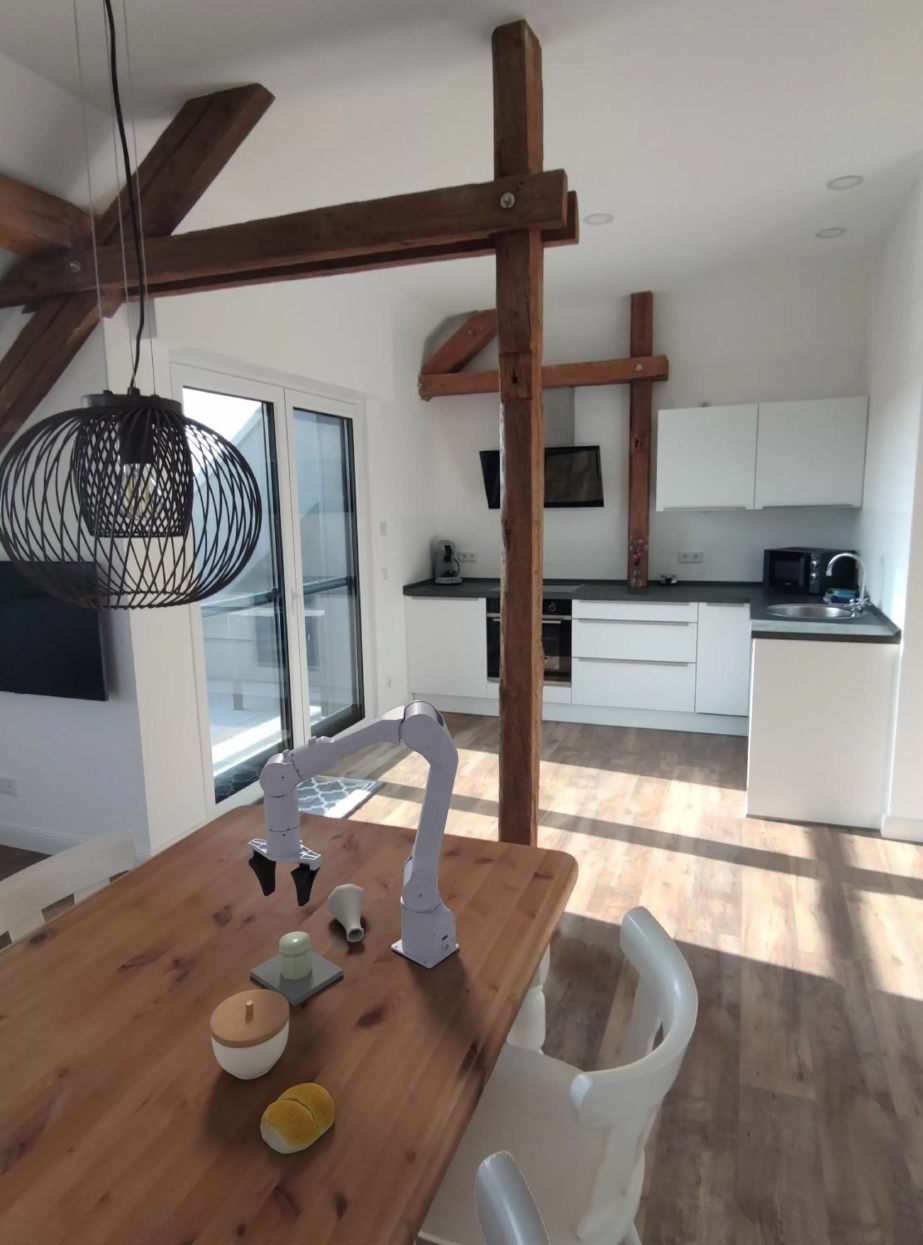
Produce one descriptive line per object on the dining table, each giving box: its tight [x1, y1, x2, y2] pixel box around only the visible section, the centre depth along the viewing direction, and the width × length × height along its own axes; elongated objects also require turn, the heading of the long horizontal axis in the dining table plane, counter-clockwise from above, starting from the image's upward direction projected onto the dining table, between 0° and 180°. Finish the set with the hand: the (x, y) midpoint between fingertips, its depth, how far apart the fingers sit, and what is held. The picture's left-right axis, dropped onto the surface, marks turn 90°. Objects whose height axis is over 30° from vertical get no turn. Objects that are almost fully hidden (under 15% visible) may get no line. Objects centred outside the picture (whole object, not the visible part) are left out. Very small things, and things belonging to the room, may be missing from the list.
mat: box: [249, 950, 344, 1007], centre depth 121 cm, size 12×10×1 cm
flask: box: [327, 883, 365, 944], centre depth 134 cm, size 7×7×10 cm
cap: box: [278, 931, 312, 980], centre depth 120 cm, size 5×5×6 cm
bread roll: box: [259, 1082, 336, 1155], centre depth 92 cm, size 8×9×4 cm
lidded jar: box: [209, 988, 290, 1081], centre depth 101 cm, size 11×11×9 cm
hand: (286, 898), depth 126 cm, fingers open, 7 cm apart
